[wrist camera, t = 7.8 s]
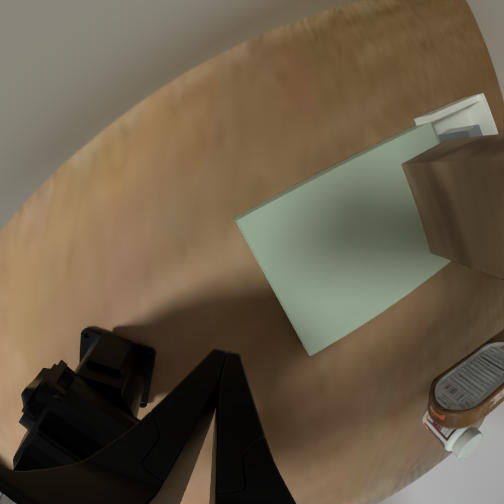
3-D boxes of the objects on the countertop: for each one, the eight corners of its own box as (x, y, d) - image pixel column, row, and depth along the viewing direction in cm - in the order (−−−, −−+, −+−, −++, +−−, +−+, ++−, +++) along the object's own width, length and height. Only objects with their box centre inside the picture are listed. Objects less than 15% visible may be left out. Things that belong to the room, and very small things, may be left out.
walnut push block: (430, 253, 23) (520, 286, 13) (400, 164, 21) (501, 160, 11) (471, 221, 23) (555, 241, 13) (446, 139, 21) (537, 131, 11)
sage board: (302, 344, 25) (310, 356, 23) (233, 217, 22) (236, 220, 20) (455, 242, 25) (468, 246, 23) (416, 125, 22) (430, 122, 20)
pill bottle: (444, 415, 31) (477, 449, 23) (418, 429, 31) (450, 467, 22) (452, 391, 30) (490, 424, 22) (425, 404, 30) (462, 443, 21)
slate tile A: (482, 175, 20) (492, 167, 20) (467, 130, 19) (478, 124, 19) (452, 174, 23) (463, 167, 23) (438, 134, 22) (450, 128, 22)
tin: (415, 403, 29) (453, 444, 21) (415, 386, 28) (457, 428, 20) (495, 346, 30) (535, 372, 22) (497, 328, 29) (540, 353, 21)
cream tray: (456, 247, 25) (476, 254, 22) (413, 119, 22) (434, 113, 19) (498, 211, 26) (517, 214, 23) (463, 97, 22) (483, 93, 19)
